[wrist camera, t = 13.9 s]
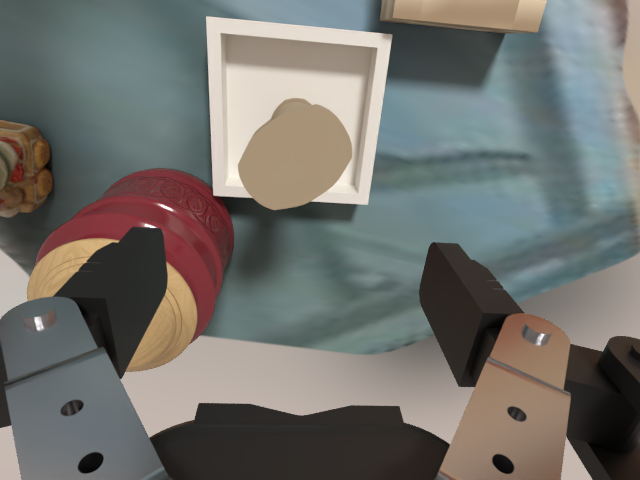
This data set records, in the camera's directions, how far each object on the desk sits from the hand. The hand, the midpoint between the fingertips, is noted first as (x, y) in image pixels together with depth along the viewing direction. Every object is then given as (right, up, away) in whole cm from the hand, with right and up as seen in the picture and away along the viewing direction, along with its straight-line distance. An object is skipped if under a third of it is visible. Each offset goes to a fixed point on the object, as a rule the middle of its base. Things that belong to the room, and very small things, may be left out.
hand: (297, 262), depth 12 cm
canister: (-14, +2, +28) cm, 32 cm away
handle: (-2, +12, +23) cm, 26 cm away
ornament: (-27, +8, +25) cm, 37 cm away
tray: (-2, +12, +24) cm, 27 cm away
